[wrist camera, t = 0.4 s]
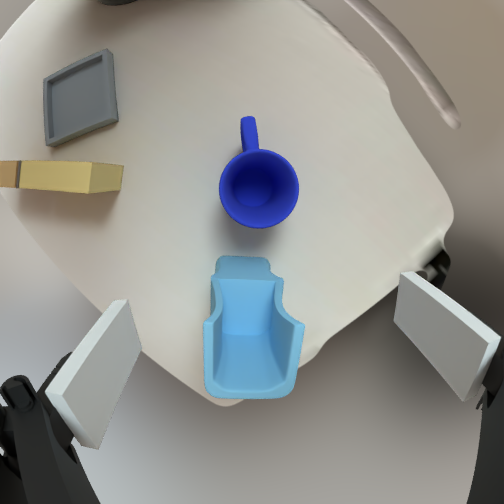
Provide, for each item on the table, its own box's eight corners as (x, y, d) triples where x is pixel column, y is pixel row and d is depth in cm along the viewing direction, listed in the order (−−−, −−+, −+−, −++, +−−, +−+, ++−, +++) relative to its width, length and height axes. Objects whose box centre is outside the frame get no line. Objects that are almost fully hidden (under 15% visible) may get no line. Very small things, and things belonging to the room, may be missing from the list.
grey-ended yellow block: (54, 184, 35) (14, 187, 26) (56, 162, 35) (16, 160, 25) (120, 190, 37) (87, 193, 27) (123, 165, 36) (91, 162, 26)
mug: (273, 127, 36) (287, 109, 27) (286, 212, 39) (303, 222, 30) (213, 135, 36) (207, 119, 26) (227, 221, 39) (226, 234, 29)
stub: (24, 182, 35) (-14, 186, 25) (26, 161, 34) (-12, 161, 24) (53, 184, 35) (14, 187, 26) (55, 162, 35) (17, 160, 25)
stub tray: (51, 82, 31) (43, 79, 29) (112, 54, 31) (106, 48, 29) (54, 146, 34) (45, 145, 32) (118, 120, 34) (112, 117, 32)
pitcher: (271, 257, 41) (306, 324, 21) (267, 308, 43) (292, 398, 23) (215, 255, 40) (202, 322, 21) (214, 306, 42) (204, 398, 22)
